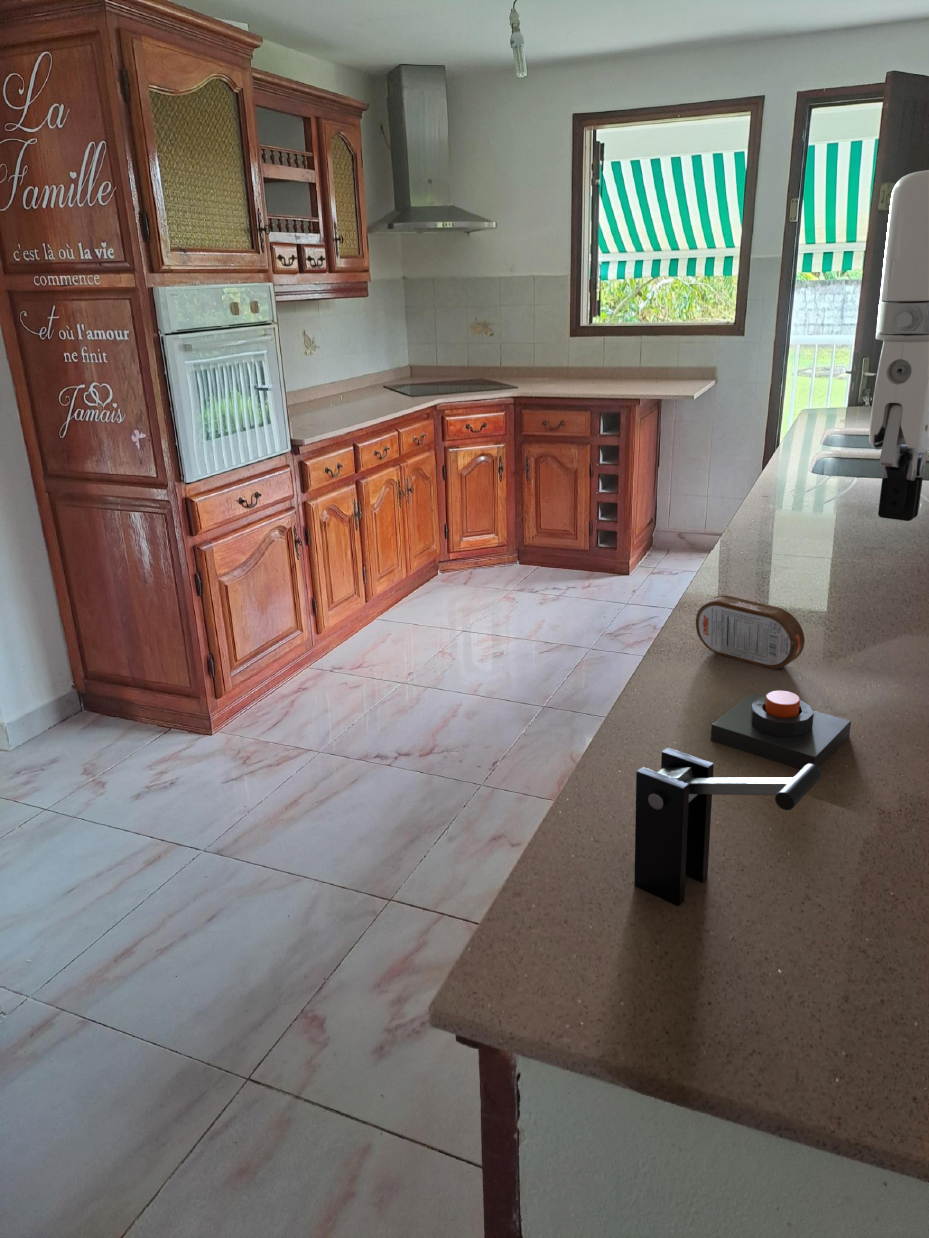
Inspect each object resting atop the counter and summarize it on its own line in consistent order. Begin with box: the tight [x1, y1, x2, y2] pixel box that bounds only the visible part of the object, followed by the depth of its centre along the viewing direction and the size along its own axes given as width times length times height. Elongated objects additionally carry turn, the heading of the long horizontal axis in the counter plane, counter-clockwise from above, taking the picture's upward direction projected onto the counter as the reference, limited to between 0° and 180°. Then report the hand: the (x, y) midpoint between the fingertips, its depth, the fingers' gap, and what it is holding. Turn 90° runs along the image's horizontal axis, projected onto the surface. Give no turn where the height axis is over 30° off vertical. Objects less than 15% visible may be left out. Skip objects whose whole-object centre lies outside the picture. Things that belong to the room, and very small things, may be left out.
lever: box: [656, 764, 823, 811], centre depth 70 cm, size 13×5×2 cm, turn 47°
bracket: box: [633, 747, 715, 907], centre depth 75 cm, size 11×9×13 cm
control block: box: [710, 692, 852, 771], centre depth 100 cm, size 12×10×4 cm
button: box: [765, 690, 801, 718], centre depth 99 cm, size 4×4×2 cm
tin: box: [695, 594, 806, 670], centre depth 120 cm, size 15×3×8 cm, turn 45°
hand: (897, 517), depth 86 cm, fingers closed
